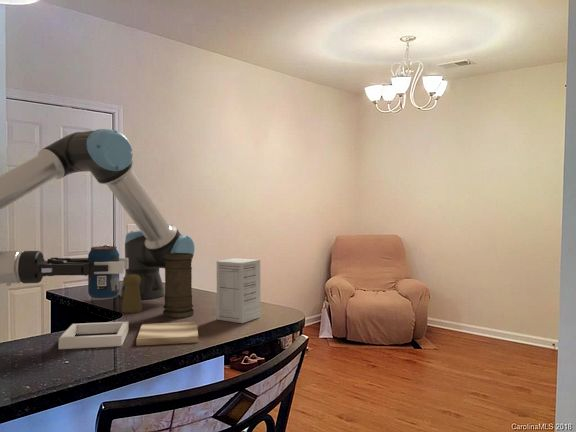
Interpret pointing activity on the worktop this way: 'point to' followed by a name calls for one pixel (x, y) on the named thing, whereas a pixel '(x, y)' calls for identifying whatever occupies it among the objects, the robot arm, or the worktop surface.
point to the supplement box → (238, 290)
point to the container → (178, 285)
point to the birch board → (167, 333)
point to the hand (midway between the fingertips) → (125, 265)
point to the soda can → (103, 283)
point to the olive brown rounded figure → (132, 294)
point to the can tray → (72, 341)
